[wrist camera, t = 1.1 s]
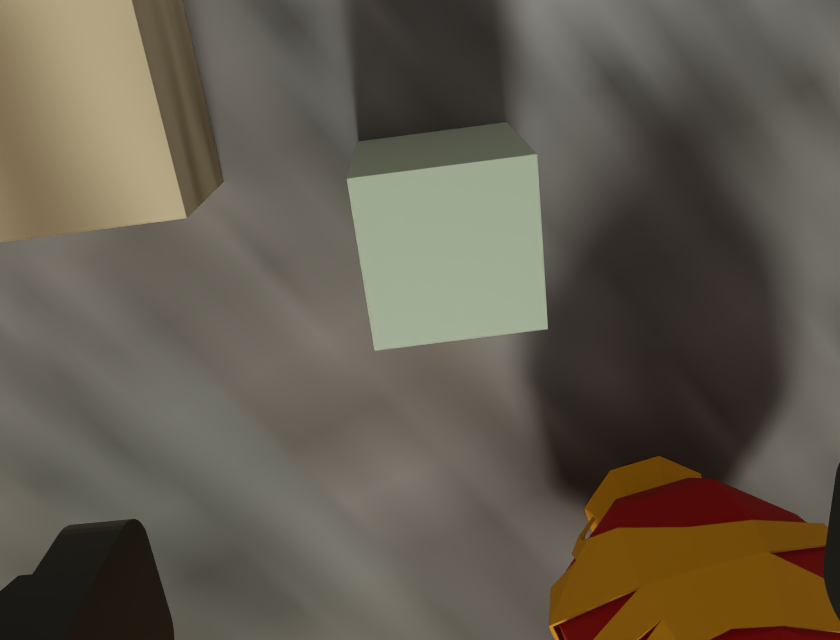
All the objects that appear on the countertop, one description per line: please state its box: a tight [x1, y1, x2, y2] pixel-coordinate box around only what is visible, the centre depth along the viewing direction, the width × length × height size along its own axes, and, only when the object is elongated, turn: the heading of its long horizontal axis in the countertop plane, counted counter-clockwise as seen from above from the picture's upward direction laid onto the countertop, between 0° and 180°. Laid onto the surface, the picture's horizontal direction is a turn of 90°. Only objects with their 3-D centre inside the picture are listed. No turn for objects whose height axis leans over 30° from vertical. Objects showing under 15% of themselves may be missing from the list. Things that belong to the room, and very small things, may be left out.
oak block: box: [0, 0, 223, 242], centre depth 22 cm, size 8×8×5 cm
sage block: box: [347, 122, 548, 350], centre depth 23 cm, size 5×5×6 cm
